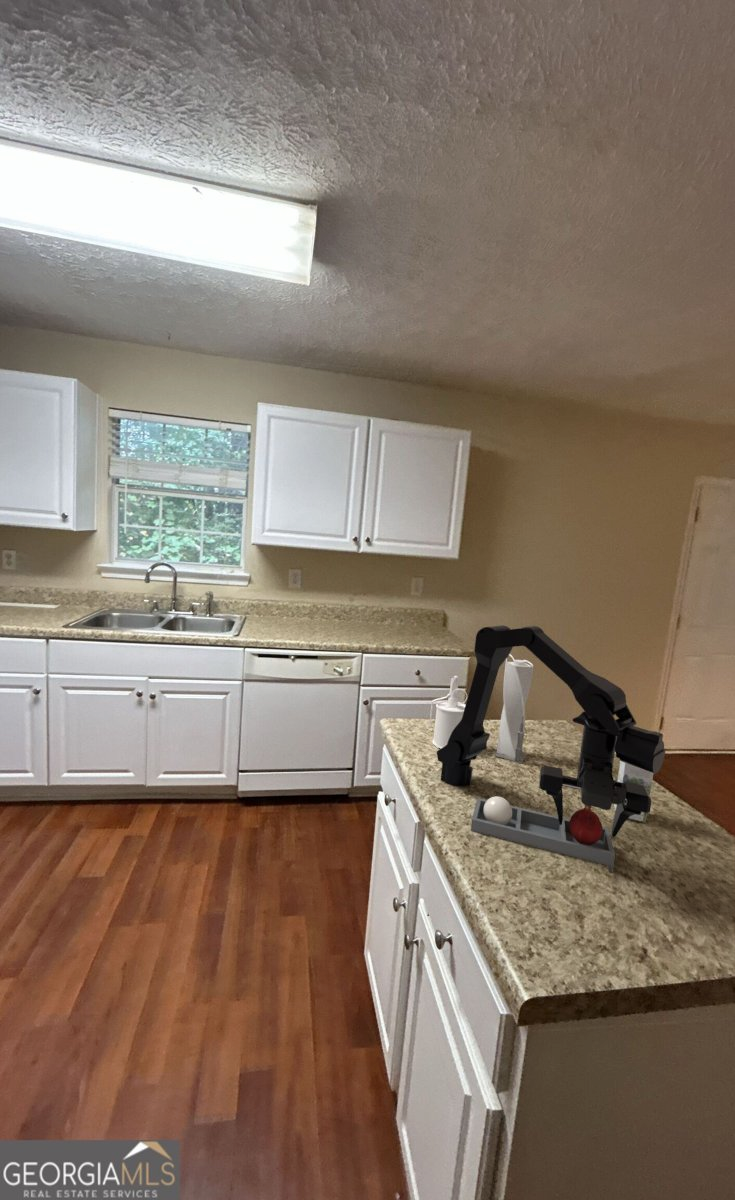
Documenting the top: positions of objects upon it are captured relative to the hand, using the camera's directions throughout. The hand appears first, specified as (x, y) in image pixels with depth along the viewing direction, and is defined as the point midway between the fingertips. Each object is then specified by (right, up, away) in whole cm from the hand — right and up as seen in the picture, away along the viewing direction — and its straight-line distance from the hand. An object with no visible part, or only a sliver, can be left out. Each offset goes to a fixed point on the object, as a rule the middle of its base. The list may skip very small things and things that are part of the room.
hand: (586, 829), depth 95 cm
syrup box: (+16, -4, +16) cm, 23 cm away
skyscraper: (-3, +1, +43) cm, 43 cm away
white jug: (-19, +3, +47) cm, 51 cm away
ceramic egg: (-16, -1, +6) cm, 17 cm away
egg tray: (-8, -4, +3) cm, 9 cm away
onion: (0, -3, +1) cm, 4 cm away
